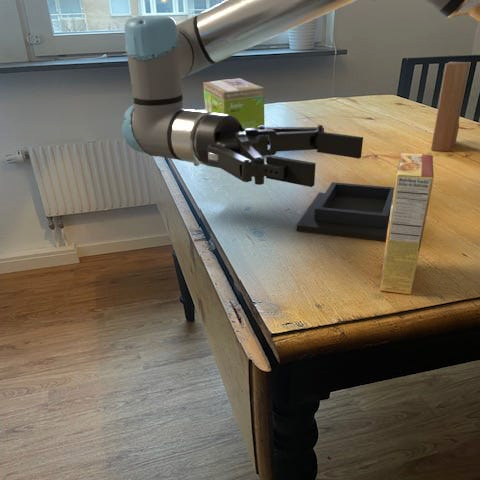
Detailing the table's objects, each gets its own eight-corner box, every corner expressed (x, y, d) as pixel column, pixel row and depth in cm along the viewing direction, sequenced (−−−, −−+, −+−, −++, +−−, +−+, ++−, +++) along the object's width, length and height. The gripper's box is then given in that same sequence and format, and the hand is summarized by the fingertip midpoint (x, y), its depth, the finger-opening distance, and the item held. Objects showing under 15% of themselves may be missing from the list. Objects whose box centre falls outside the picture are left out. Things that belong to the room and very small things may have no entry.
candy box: (383, 261, 71) (398, 152, 63) (414, 264, 70) (434, 153, 62) (379, 292, 64) (395, 173, 56) (413, 296, 63) (435, 176, 55)
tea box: (206, 144, 127) (201, 80, 119) (243, 139, 130) (241, 77, 122) (226, 160, 115) (222, 90, 107) (266, 154, 118) (265, 86, 110)
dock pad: (407, 205, 89) (410, 188, 87) (398, 243, 76) (401, 224, 75) (319, 196, 94) (319, 181, 92) (296, 231, 81) (296, 213, 79)
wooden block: (436, 140, 123) (451, 58, 113) (455, 142, 121) (472, 59, 111) (430, 150, 116) (445, 64, 106) (450, 152, 114) (468, 64, 104)
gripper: (256, 145, 85) (374, 164, 75) (154, 188, 69) (288, 220, 58) (255, 98, 81) (380, 111, 71) (147, 131, 64) (290, 155, 54)
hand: (339, 160), depth 64 cm, fingers open, 13 cm apart
